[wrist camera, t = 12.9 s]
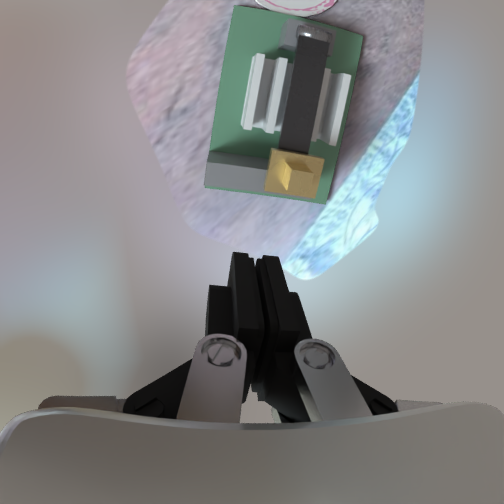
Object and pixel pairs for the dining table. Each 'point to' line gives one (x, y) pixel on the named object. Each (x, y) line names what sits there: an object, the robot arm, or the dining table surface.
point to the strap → (304, 88)
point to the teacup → (297, 6)
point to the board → (274, 100)
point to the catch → (293, 173)
